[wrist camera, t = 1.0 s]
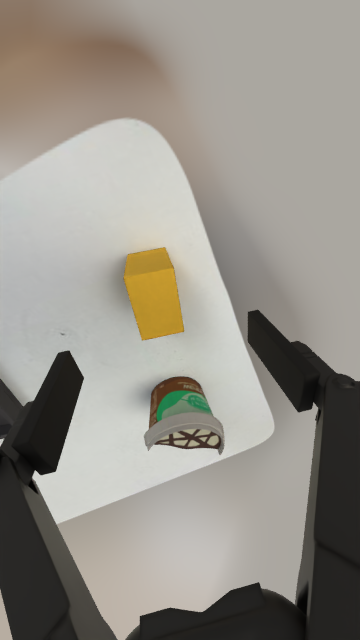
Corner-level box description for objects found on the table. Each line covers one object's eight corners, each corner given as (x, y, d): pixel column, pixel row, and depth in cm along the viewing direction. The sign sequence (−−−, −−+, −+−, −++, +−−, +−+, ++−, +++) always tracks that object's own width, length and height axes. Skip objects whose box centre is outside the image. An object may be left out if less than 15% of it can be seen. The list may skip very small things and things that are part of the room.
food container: (220, 378, 39) (243, 430, 31) (206, 401, 42) (223, 455, 33) (154, 365, 35) (159, 421, 27) (143, 391, 38) (144, 450, 29)
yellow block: (127, 254, 26) (123, 277, 19) (165, 247, 26) (173, 267, 19) (141, 306, 30) (142, 340, 23) (174, 299, 30) (184, 332, 23)
